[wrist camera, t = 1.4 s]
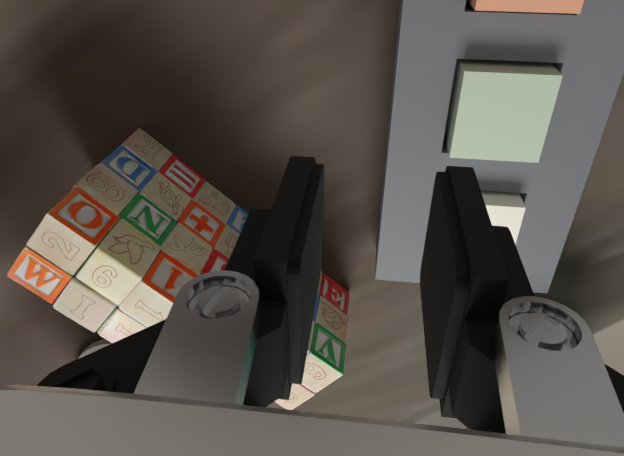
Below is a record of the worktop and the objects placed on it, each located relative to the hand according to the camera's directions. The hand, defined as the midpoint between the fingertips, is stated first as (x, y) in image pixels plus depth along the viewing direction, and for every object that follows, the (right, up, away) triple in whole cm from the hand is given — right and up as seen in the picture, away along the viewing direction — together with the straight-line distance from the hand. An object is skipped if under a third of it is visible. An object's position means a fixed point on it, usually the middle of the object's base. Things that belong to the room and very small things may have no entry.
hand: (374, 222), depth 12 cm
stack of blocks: (-8, -1, +30) cm, 31 cm away
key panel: (+10, +9, +21) cm, 25 cm away
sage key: (+9, +8, +19) cm, 22 cm away
